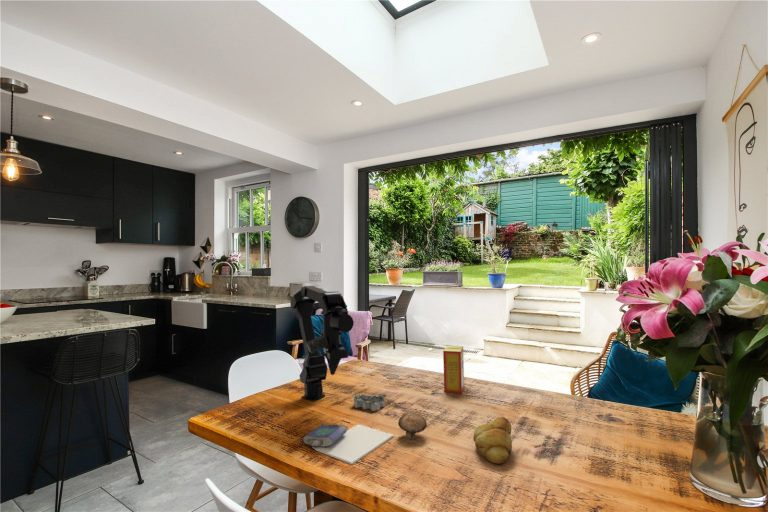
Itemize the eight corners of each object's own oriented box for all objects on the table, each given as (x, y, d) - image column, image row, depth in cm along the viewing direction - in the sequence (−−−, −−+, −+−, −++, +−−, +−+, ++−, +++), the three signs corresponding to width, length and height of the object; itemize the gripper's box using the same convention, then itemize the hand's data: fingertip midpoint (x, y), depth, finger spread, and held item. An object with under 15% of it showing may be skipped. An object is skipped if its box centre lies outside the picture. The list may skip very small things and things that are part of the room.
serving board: (315, 450, 100) (315, 448, 100) (358, 425, 115) (358, 424, 115) (351, 464, 92) (351, 462, 92) (393, 436, 107) (393, 434, 107)
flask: (347, 424, 107) (328, 440, 97) (348, 435, 107) (329, 451, 97) (319, 423, 111) (298, 438, 101) (320, 433, 111) (299, 449, 101)
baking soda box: (461, 393, 141) (460, 350, 142) (444, 392, 143) (443, 349, 144) (464, 385, 150) (463, 345, 151) (447, 384, 152) (446, 344, 153)
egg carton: (387, 406, 131) (387, 394, 131) (375, 413, 125) (375, 401, 125) (363, 400, 137) (363, 389, 137) (350, 407, 131) (350, 395, 131)
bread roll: (514, 470, 89) (513, 435, 89) (472, 464, 91) (471, 431, 92) (511, 444, 101) (510, 414, 101) (474, 440, 104) (473, 411, 104)
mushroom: (407, 445, 101) (407, 422, 101) (393, 434, 108) (392, 412, 108) (432, 439, 105) (431, 416, 105) (416, 428, 112) (416, 407, 112)
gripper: (302, 326, 134) (303, 370, 133) (313, 335, 117) (314, 385, 116) (333, 324, 138) (334, 366, 138) (348, 331, 121) (349, 380, 121)
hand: (332, 374), depth 128 cm, fingers closed
